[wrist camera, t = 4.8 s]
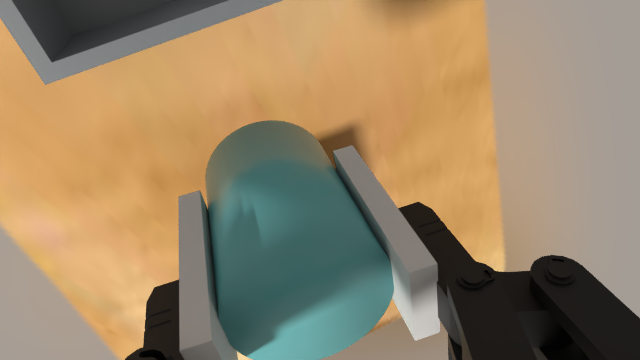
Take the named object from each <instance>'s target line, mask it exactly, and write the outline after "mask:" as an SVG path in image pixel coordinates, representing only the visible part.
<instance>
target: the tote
mask: <svg viewBox="0 0 640 360" xmlns="http://www.w3.org/2000/svg"><path fill="white" fill-rule="evenodd" d="M279 1H282V0H0V18H1V20H2V21H3V23H4V24H5V26H6V27H7V29H8V30H9V32H10V33H11V35H12V36H13V38H14V39H15V41H16V42H17V44H18V45H19V47H20V48H21V49H22V51H23V52H24V54H25V55H26V57H27V58H28V60H29V61H30V63H31V64H32V66H33V67H34V69H35V70H36V72H37V73H38V75H39V76H40V78H41V79H42V81H43V82H44V84H45V85H46V84H49V83H52V82H54V81H57V80H60V79H63V78H66V77H69V76H71V75H74V74H77V73H80V72H83V71H85V70H88V69H91V68H94V67H97V66H99V65H102V64H105V63H108V62H111V61H114V60H116V59H119V58H122V57H125V56H128V55H130V54H133V53H136V52H139V51H142V50H144V49H147V48H150V47H153V46H156V45H159V44H161V43H164V42H167V41H170V40H173V39H175V38H178V37H181V36H184V35H187V34H189V33H192V32H195V31H198V30H201V29H204V28H206V27H209V26H212V25H215V24H218V23H220V22H223V21H226V20H229V19H232V18H234V17H237V16H240V15H243V14H246V13H249V12H251V11H254V10H257V9H260V8H263V7H265V6H268V5H271V4H274V3H277V2H279Z"/></svg>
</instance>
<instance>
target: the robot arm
mask: <svg viewBox="0 0 640 360" xmlns="http://www.w3.org/2000/svg"><path fill="white" fill-rule="evenodd" d="M333 154H334V159H335V164H336V170H337V173H338V174H339V176H340V178H341V179H342V181H343V183H344V184H345V186H346V188H347V189H348V191H349V193H350V195H351V196H352V198H353V200H354V201H355V203H356V205H357V206H358V208H359V210H360V211H361V213H362V215H363V216H364V218H365V220H366V221H367V223H368V225H369V226H370V228H371V230H372V232H373V233H374V235H375V237H376V238H377V240H378V242H379V243H380V245H381V247H382V248H383V250H384V252H385V253H386V255H387V257H388V258H389V261H390V263H391V267H392V275H393V283H394V291H393V295H392V299H393V301H394V302H395V304H396V306H397V308H398V310H399V312H400V314H401V315H402V317H403V319H404V321H405V323H406V324H407V327H408V328H409V330H410V332H411V334H412V335H413V338H414V339H415V341H416V340H419V339H422V338H424V337H427V336H430V335H433V334H436V333H438V332H440V321H441V322H442V324H443V326H444V327H445V329H446V331H447V332H448V356H449V360H640V318H639V317H638V316H637V315H635V314H634V313H633V312H632V311H631V310H630V309H629V308H628V307H627V306H626V305H625V304H623V303H622V302H621V301H620V300H619V299H618V298H617V297H616V296H615V295H614V294H613V293H611V292H610V291H609V290H608V289H607V288H606V287H605V286H604V285H603V284H602V283H601V282H599V281H598V280H597V279H596V278H595V277H594V276H593V275H592V274H591V273H590V272H589V271H587V270H586V269H585V268H584V267H583V266H582V265H580V264H579V263H577V262H576V261H574V260H572V259H569V258H567V257H564V256H555V255H550V256H544V257H541V258H539V259H537V260H536V261H534V263H533V264H532V266H531V270H530V271H521V272H498V271H494V270H493V269H492V268H491V267H489V266H487V265H486V264H483V263H479V262H476V261H475V260H474V259H473V258H472V257H471V256H470V255H469V253H468V252H467V251H466V250H465V249H464V247H463V246H462V245H461V244H460V242H459V241H458V240H457V239H456V238H455V236H454V235H453V234H452V233H451V232H450V230H448V229H447V227H446V226H445V224H444V223H443V222H442V221H441V220H440V218H439V217H438V216H437V215H436V213H435V212H434V211H433V210H432V209H431V208H429V207H427V206H425V205H423V204H422V203H420V202H417V203H413V204H410V205H407V206H404V207H401V208H397V206H396V205H395V204H394V202H393V201H392V199H391V198H390V197H389V195H388V194H387V192H386V191H385V190H384V188H383V187H382V185H381V184H380V183H379V181H378V180H377V179H376V177H375V176H374V174H373V173H372V172H371V170H370V169H369V167H368V166H367V165H366V163H365V162H364V160H363V159H362V158H361V156H360V155H359V153H358V152H357V151H356V149H355V148H354V146H353V145H351V146H347V147H344V148H341V149H337V150H334V151H333ZM125 360H238V357H237V350H235V349H234V348H233V347H232V346H231V345H230V343H229V341H228V339H227V337H226V334H225V332H224V330H223V328H222V326H221V324H220V322H219V316H218V306H217V296H216V286H215V275H214V265H213V255H212V245H211V234H210V224H209V214H208V209H207V207H206V204H205V202H204V199H203V197H202V194H201V192H200V190H199V191H196V192H193V193H189V194H186V195H183V196H179V280H176V281H173V282H170V283H167V284H164V285H161V286H157V287H154V289H153V291H152V293H151V295H150V297H149V299H148V301H147V305H146V320H145V332H144V345H143V348H140V349H138V350H136V351H135V352H133V353H132V354H131V355H129V356H128V357H127V358H126V359H125Z"/></svg>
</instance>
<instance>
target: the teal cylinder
mask: <svg viewBox="0 0 640 360" xmlns="http://www.w3.org/2000/svg"><path fill="white" fill-rule="evenodd" d="M205 181H206V193H207V204H208V214H209V224H210V234H211V245H212V255H213V265H214V275H215V286H216V296H217V306H218V316H219V322H220V324H221V326H222V328H223V330H224V332H225V334H226V337H227V339H228V341H229V343H230V345H231V346H232V347H233V348H234V349H235V350H237V351H238V352H240V353H241V354H243V355H245V356H246V357H248V358H251V359H254V360H319V359H322V358H325V357H328V356H330V355H332V354H335V353H337V352H339V351H341V350H343V349H345V348H347V347H349V346H350V345H352V344H354V343H355V342H357V341H358V340H359V339H361V338H362V337H363V336H365V335H366V334H367V333H368V332H369V331H370V330H371V329H372V328H373V327H374V326H375V325H376V324H377V323H378V321H379V320H380V319H381V317H382V316H383V315H384V313H385V311H386V309H387V308H388V306H389V303H390V301H391V299H392V295H393V291H394V283H393V275H392V267H391V263H390V261H389V258H388V257H387V255H386V253H385V252H384V250H383V248H382V247H381V245H380V243H379V242H378V240H377V238H376V237H375V235H374V233H373V232H372V230H371V228H370V226H369V225H368V223H367V221H366V220H365V218H364V216H363V215H362V213H361V211H360V210H359V208H358V206H357V205H356V203H355V201H354V200H353V198H352V196H351V195H350V193H349V191H348V189H347V188H346V186H345V184H344V183H343V181H342V179H341V178H340V176H339V174H338V173H337V171H336V169H335V168H334V166H333V164H332V163H331V161H330V159H329V157H328V156H327V154H326V152H325V151H324V149H323V147H322V146H321V144H320V143H319V141H318V140H317V139H316V138H315V137H314V136H313V135H312V134H311V133H309V132H308V131H307V130H305V129H303V128H302V127H300V126H297V125H295V124H292V123H288V122H284V121H261V122H256V123H252V124H249V125H246V126H244V127H242V128H240V129H238V130H236V131H234V132H233V133H231V134H230V135H228V136H227V137H226V138H225V139H224V140H223V141H222V142H221V143H220V144H219V145H218V146H217V148H216V149H215V150H214V152H213V154H212V155H211V157H210V160H209V162H208V165H207V169H206V176H205Z"/></svg>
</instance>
